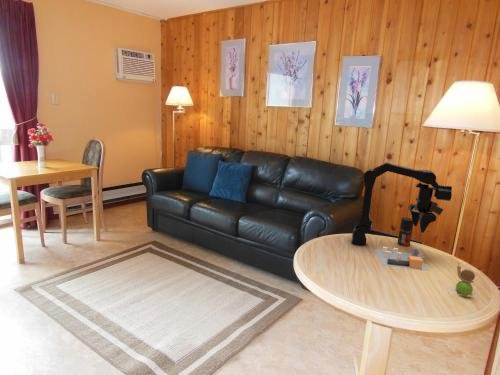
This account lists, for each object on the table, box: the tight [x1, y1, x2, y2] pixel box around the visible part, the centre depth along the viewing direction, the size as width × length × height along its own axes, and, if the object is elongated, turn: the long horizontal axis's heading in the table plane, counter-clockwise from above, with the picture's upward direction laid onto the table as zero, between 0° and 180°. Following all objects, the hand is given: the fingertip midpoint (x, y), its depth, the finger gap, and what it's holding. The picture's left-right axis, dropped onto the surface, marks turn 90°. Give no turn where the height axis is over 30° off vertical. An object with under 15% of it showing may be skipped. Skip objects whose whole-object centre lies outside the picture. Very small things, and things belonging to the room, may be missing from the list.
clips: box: [381, 246, 403, 260], centre depth 160 cm, size 7×6×3 cm
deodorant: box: [397, 217, 414, 248], centre depth 175 cm, size 6×6×15 cm
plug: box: [387, 256, 424, 270], centre depth 150 cm, size 14×4×4 cm, turn 81°
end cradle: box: [411, 247, 425, 261], centre depth 158 cm, size 2×8×4 cm, turn 171°
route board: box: [374, 249, 431, 272], centre depth 157 cm, size 20×18×1 cm
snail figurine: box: [455, 262, 476, 296], centre depth 129 cm, size 5×6×12 cm
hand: (418, 229), depth 161 cm, fingers open, 9 cm apart
